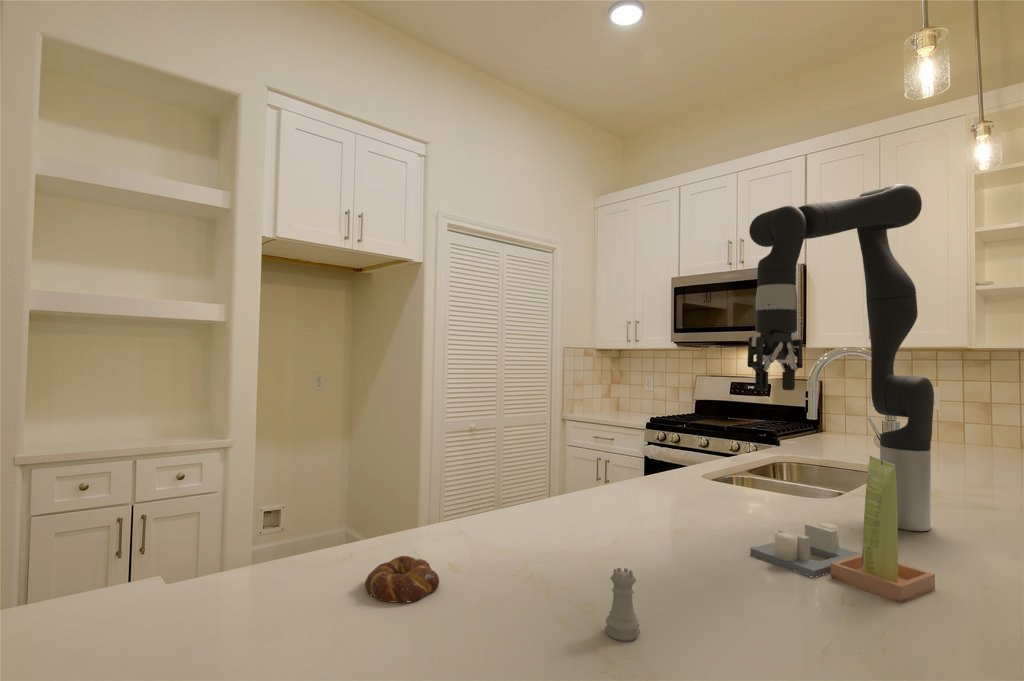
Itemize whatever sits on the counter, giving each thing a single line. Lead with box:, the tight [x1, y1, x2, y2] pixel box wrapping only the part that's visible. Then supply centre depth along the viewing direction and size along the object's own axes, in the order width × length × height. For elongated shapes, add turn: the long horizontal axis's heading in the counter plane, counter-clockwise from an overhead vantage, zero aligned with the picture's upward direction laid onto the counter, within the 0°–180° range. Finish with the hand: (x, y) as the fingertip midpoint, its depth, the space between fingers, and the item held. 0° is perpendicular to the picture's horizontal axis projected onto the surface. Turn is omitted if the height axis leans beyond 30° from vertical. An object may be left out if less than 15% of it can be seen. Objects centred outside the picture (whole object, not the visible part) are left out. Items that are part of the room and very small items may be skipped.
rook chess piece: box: [604, 567, 641, 642], centre depth 72 cm, size 4×4×8 cm
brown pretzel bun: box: [364, 555, 440, 603], centre depth 84 cm, size 12×11×4 cm
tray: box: [830, 553, 936, 604], centre depth 90 cm, size 11×11×2 cm
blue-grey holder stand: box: [749, 522, 861, 578], centre depth 101 cm, size 17×12×5 cm
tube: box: [861, 455, 899, 583], centre depth 90 cm, size 6×5×20 cm
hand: (775, 390), depth 109 cm, fingers open, 8 cm apart
